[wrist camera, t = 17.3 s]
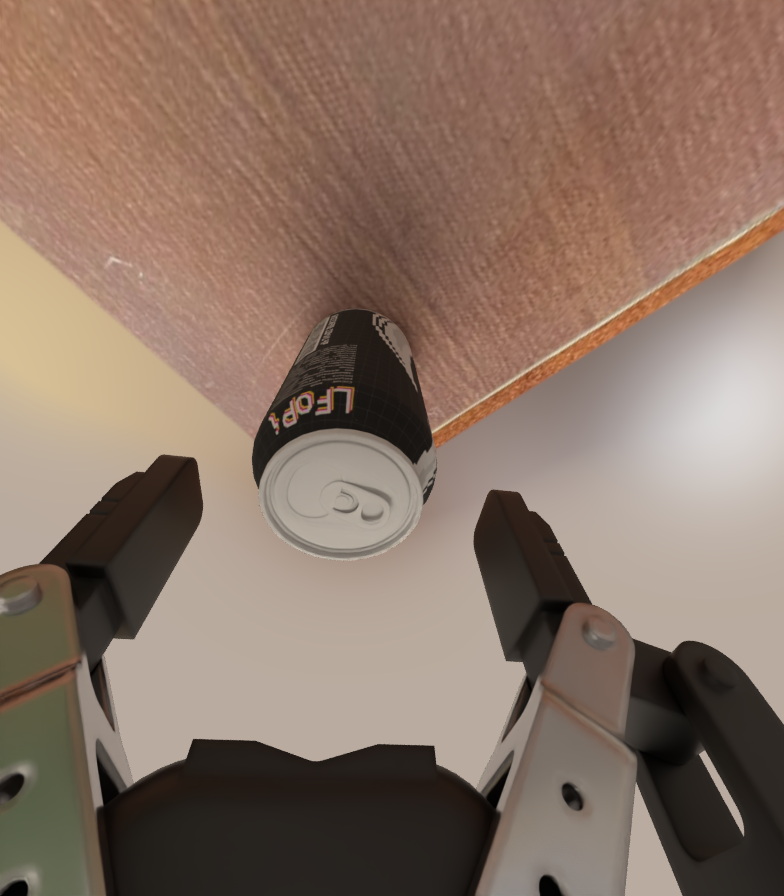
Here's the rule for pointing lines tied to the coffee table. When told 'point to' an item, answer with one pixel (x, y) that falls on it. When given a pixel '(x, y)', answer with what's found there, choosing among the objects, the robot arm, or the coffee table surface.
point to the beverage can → (346, 442)
